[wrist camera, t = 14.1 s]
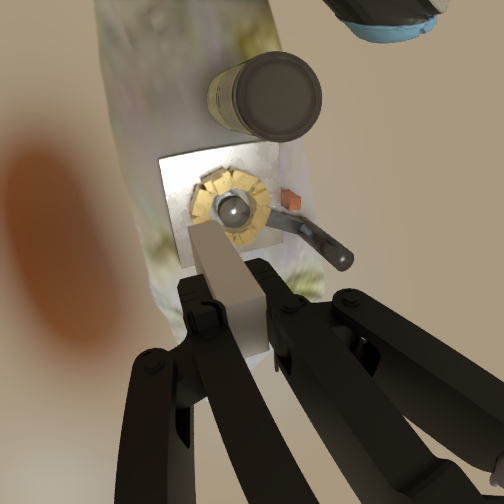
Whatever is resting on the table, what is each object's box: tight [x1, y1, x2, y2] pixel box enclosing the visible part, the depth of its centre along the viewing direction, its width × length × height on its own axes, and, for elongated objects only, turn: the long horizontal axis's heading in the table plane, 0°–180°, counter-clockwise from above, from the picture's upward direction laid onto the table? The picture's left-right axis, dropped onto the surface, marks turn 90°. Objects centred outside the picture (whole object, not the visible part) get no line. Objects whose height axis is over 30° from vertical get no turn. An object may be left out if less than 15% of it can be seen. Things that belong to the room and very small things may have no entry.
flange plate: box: [159, 140, 301, 268], centre depth 44 cm, size 18×20×6 cm
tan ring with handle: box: [189, 167, 354, 272], centre depth 41 cm, size 21×12×13 cm, turn 68°
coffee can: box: [207, 51, 322, 142], centre depth 33 cm, size 10×10×14 cm
